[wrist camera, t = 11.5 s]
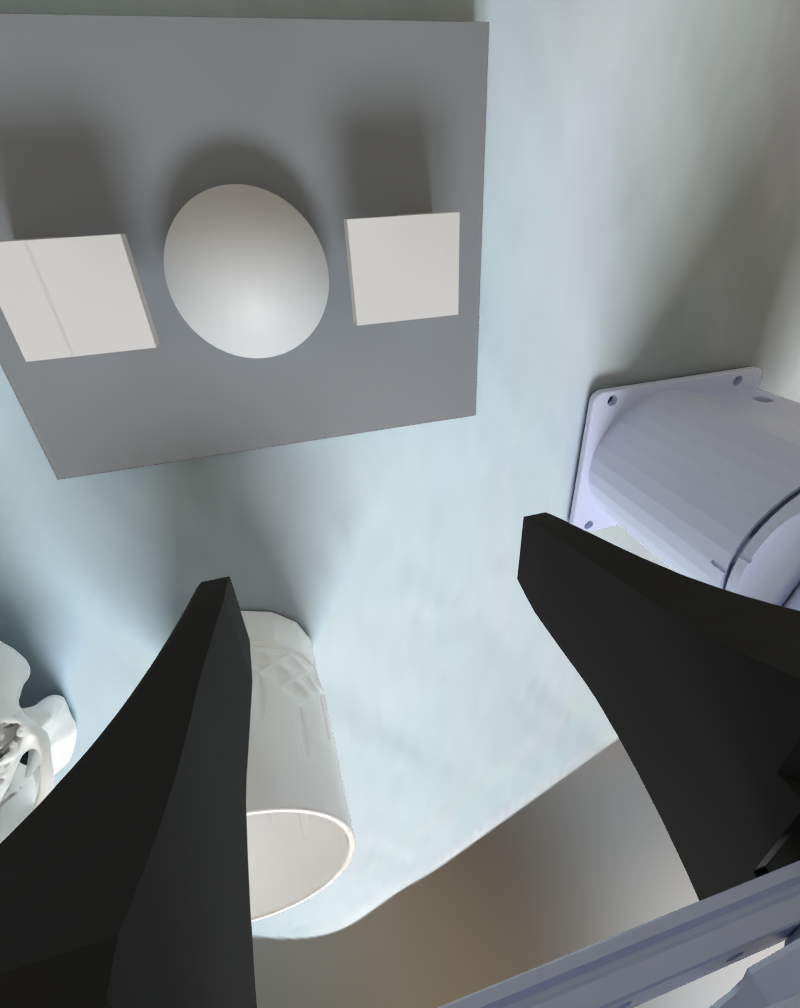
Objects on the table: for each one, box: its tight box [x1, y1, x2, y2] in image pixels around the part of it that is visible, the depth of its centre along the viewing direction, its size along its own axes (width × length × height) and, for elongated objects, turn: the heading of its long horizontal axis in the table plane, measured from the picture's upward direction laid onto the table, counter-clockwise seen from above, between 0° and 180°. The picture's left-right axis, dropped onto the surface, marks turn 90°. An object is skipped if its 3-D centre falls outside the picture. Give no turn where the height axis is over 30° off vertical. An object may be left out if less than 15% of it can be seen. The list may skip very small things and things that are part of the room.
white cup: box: [241, 611, 356, 922], centre depth 21 cm, size 8×8×10 cm
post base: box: [0, 13, 489, 480], centre depth 15 cm, size 16×12×4 cm
